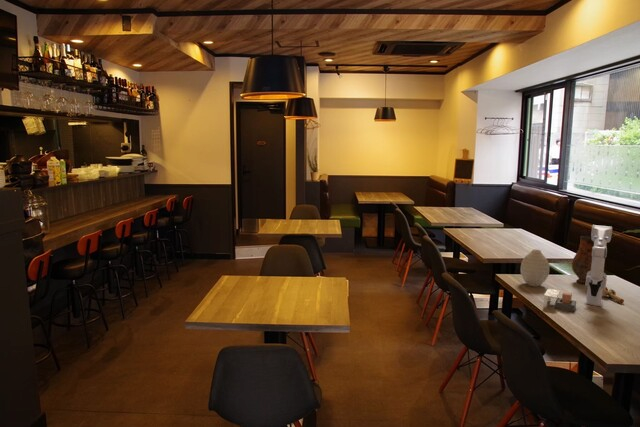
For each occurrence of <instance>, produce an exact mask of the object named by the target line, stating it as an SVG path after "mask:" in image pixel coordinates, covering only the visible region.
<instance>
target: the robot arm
mask: <svg viewBox="0 0 640 427" xmlns="http://www.w3.org/2000/svg"><path fill="white" fill-rule="evenodd" d="M612 234H613V227H612V225H611V226H610V225H609V226H607V225H596V224H592V225H591V234H590V237H591V238H592V241H594V247H593V248H592V265H591V271H589V272H588V273H587V276H586V284H585V285H584V286H586V287H587V290H586V299H585V300H584V301H585V302H584V304H586V305H590V306H597V307H602V306H603V301H602V300H603V299H602V298H603V296H602V292H603V289H605V288H606V287H607V280H608V279H607V278H608V277H607V276H608V275H607V274H606V273H605V272H604V271H605V261H606V258H607V254H608V248H607V243H610V242H611V240H612ZM588 278H589V279H588Z"/></svg>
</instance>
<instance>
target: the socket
mask: <svg viewBox="0 0 640 427" xmlns="http://www.w3.org/2000/svg"><path fill="white" fill-rule="evenodd" d="M576 307H577V300H574V299H573V300H572V299H571V304H568V303H562V297H557V298H556V300H555V302H554V309H557V310H562V311H566V312H570V313H571V312H573V313H574V312H575V310H576V309H577V308H576Z"/></svg>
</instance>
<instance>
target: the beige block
mask: <svg viewBox="0 0 640 427" xmlns="http://www.w3.org/2000/svg"><path fill="white" fill-rule="evenodd" d="M560 293H561V290H558V289H553V288H548V289H547V290H546V291H545V293H544V294H543V297H544V299H543V308H544V309H547V308H548V303H551V299H554V300H555V299H556V300H557V298H558V296H559V295H560Z"/></svg>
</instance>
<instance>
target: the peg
mask: <svg viewBox="0 0 640 427" xmlns="http://www.w3.org/2000/svg"><path fill="white" fill-rule="evenodd" d="M572 295H573V293H571V292H567V291H563V292H562V297H561V298H562V303H568V304H571V300H572V298H573V296H572Z"/></svg>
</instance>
